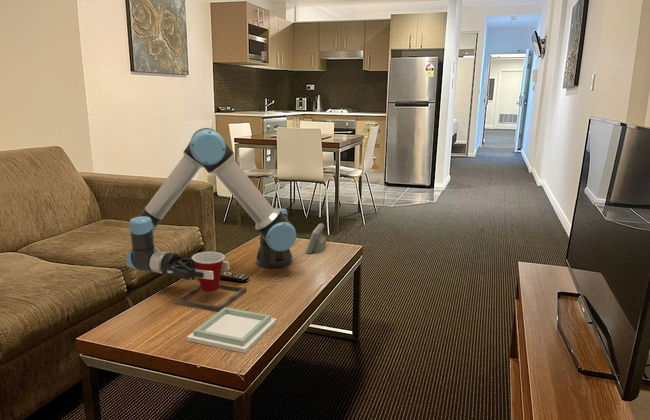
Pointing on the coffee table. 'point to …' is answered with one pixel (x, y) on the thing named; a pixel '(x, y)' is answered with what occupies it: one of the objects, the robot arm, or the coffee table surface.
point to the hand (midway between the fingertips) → (220, 270)
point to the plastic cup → (209, 268)
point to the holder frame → (183, 301)
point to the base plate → (233, 329)
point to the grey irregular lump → (316, 240)
